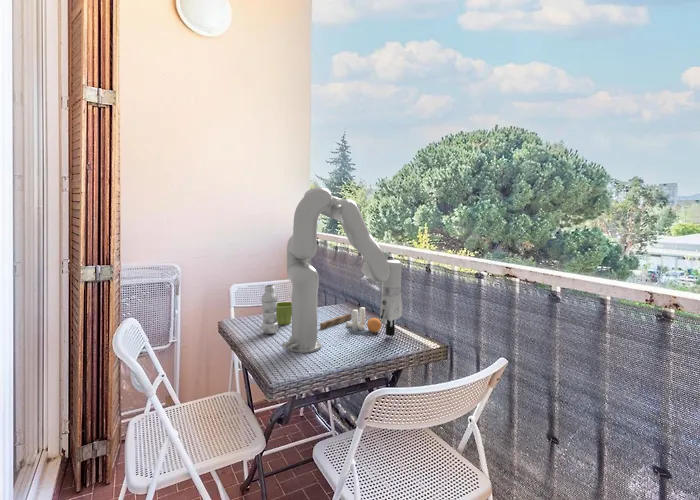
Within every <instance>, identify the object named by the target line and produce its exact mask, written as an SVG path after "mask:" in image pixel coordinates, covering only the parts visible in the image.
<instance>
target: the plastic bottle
mask: <svg viewBox="0 0 700 500" xmlns="http://www.w3.org/2000/svg"><path fill="white" fill-rule="evenodd" d="M278 300H279V299H278V296H277V294H276V292H275V286H274V285H273V284H268V285H265V286H264V293H263V294H262V296H261V306H262V325H261V331H262V332H263V333H264V334H265V335H273V334H274V335H275V334H276V333H277V332H278V331H279V324H278V323H277V315H276V310H277V303H278Z"/></svg>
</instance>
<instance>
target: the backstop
mask: <svg viewBox="0 0 700 500" xmlns="http://www.w3.org/2000/svg"><path fill="white" fill-rule="evenodd" d="M350 320H352V313H345V314H343V315H340V316H337V317H334V318H331V319H328V320H326V321H323V322H320V323H319V328H320V330H325V329H328V328H331V327H333V326H335V325H339V324H341V323H344V322H345V323H346V322H347V321H350Z"/></svg>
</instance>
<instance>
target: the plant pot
mask: <svg viewBox="0 0 700 500" xmlns="http://www.w3.org/2000/svg"><path fill="white" fill-rule="evenodd" d="M276 315H277V323H278V326H282V325H285V326H288V325H289V324H292V301H290V302H289V301H281V302H280V301H279V302H277V310H276Z"/></svg>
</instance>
